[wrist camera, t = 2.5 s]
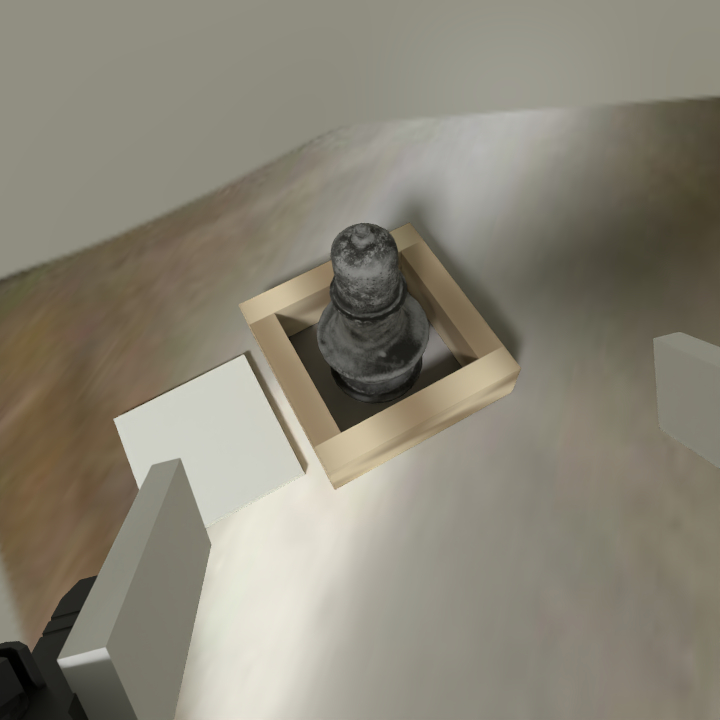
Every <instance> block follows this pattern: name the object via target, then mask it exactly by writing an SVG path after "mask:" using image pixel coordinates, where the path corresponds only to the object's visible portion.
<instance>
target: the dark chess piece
mask: <svg viewBox="0 0 720 720" xmlns="http://www.w3.org/2000/svg"><path fill="white" fill-rule="evenodd" d="M331 261H332V266H333V272H334V276H333V279H332V281H331V283H330V290H329V294H330V299H331V301H330V303H329V304H328V305H327V307H326V308H325V309H324V310H323V312H322V315H321V317H320V319H319V322H318V328H317V340H318V345H319V349H320V351H321V353H322V355H323V357H324V359H325V361H326V362H327V363H328V364H329V365H330V367H331V372H332V376H333V378H334V380H335V381H336V383H337V385H338V386H339V387H340V388H341V389H342V390H343V391H344V392H345V393H346V394H347V395H349V396H351V397H352V398H354V399H356V400H360V401H363V402H367V403H382V402H387V401H392V400H394V399H396V398H398V397H400V396H402V395H403V394H405V393H406V392H407V391H408V390H409V389H410V388H412V386H413V385H414V383H415V382H416V380H417V379H418V377H419V374H420V371H421V367H422V354H423V353H424V352H425V349H426V345H427V342H428V339H429V324H428V320H427V317H426V314H425V312H424V310H423V308H422V307H421V305H420V304H419V302H418V301H417V300H415V299H414V298H413V297H412V296H411V295H410V294H409V293H407V283H406V280H405V277H404V276H403V274H402V273H401V271H400V270H399V268H398V248H397V245H396V242H395V239H394V238H393V236H392V235H391V234H390V233H389V232H388V231H387V230H385V229H384V228H382V227H379V226H377V225H374V224H369V223H360V224H355V225H352V226H350V227H347V228H346V229H345V230H343V231H342V232H340V233H339V234H338V236H337V237H336V238H335V239H334V242H333V244H332V248H331Z"/></svg>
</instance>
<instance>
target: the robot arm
mask: <svg viewBox="0 0 720 720" xmlns="http://www.w3.org/2000/svg"><path fill="white" fill-rule="evenodd" d="M653 345H654V360H655V375H656V389H657V404H658V419H659V429H661V430H662V431H664V432H665V433H667V434H668V435H670V436H671V437H673V438H674V439H676V440H677V441H679V442H680V443H682V444H683V445H685V446H686V447H688V448H689V449H691V450H692V451H694V452H695V453H697V454H698V455H700V456H701V457H703V458H704V459H706V460H707V461H709V462H710V463H712V464H713V465H715V466H716V467H718V468H719V469H720V347H718V346H716V345H713V344H710V343H708V342H705V341H703V340H700V339H697V338H695V337H692V336H690V335H687V334H684V333H682V332H676V333H672V334H668V335H664V336H661V337H657V338H653ZM210 548H211V542H210V540H209V537H208V534H207V531H206V528H205V526H204V523H203V520H202V517H201V514H200V511H199V509H198V506H197V503H196V500H195V497H194V494H193V492H192V489H191V486H190V483H189V480H188V477H187V475H186V472H185V469H184V466H183V463H182V460H181V458H177V459H173V460H169V461H165V462H161V463H157V464H153V465H151V468H150V470H149V472H148V474H147V476H146V478H145V480H144V482H143V484H142V486H141V488H140V490H139V492H138V494H137V496H136V498H135V500H134V502H133V505H132V507H131V509H130V511H129V513H128V515H127V517H126V519H125V521H124V523H123V525H122V527H121V529H120V531H119V533H118V535H117V537H116V539H115V542H114V544H113V546H112V548H111V550H110V552H109V554H108V556H107V558H106V560H105V562H104V564H103V566H102V568H101V570H100V572H99V574H98V575H97V576H93V577H89V578H85V579H82V580H79V581H78V582H77V583H76V584H75V585H74V586H73V588H72V589H71V590H70V591H69V592H68V593H67V594H66V595H65V596H64V597H63V598H62V599H61V600H60V602H59V604H58V606H57V608H56V610H55V611H54V613H53V615H52V617H51V621H49V622H48V624H47V626H46V628H45V630H44V631H43V633H42V634H43V637H41V638H40V639H39V641H38V642H37V644H36V646H35V648H34V650H33V652H32V653H31V652H30V650H29V648H28V646H27V645H25V644H23V643H21V642H19V641H15V642H4V643H1V644H0V720H174V715H175V711H176V706H177V701H178V697H179V692H180V687H181V683H182V678H183V673H184V669H185V664H186V660H187V655H188V650H189V646H190V641H191V636H192V632H193V627H194V622H195V618H196V613H197V608H198V604H199V599H200V595H201V590H202V585H203V581H204V576H205V571H206V567H207V562H208V557H209V553H210Z"/></svg>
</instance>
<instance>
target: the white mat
mask: <svg viewBox="0 0 720 720" xmlns="http://www.w3.org/2000/svg"><path fill="white" fill-rule="evenodd" d="M114 421H115V424H116V427H117V430H118V432H119V435H120V438H121V441H122V443H123V446H124V449H125V452H126V454H127V457H128V460H129V463H130V465H131V468H132V471H133V474H134V477H135V479H136V482H137V485H138V488H139V490H140V488H141V486H142V484H143V482H144V480H145V478H146V476H147V474H148V472H149V470H150V468H151V465H153V464H157V463H161V462H165V461H169V460H173V459H177V458H181V460H182V463H183V466H184V469H185V472H186V475H187V477H188V480H189V483H190V486H191V489H192V492H193V494H194V497H195V500H196V503H197V506H198V509H199V511H200V514H201V517H202V520H203V523H204V526H205V528H207V527H209V526H211V525H213V524H215V523H217V522H218V521H220V520H222V519H224V518H226V517H228V516H230V515H231V514H233V513H235V512H237V511H239V510H241V509H242V508H244V507H246V506H248V505H250V504H252V503H253V502H255V501H257V500H259V499H261V498H263V497H265V496H266V495H268V494H270V493H272V492H274V491H276V490H277V489H279V488H281V487H283V486H285V485H287V484H289V483H290V482H292V481H294V480H296V479H298V478H300V477H301V476H303V475H305V473H304V471H303V469H302V467H301V465H300V463H299V461H298V459H297V457H296V455H295V453H294V451H293V450H292V448H291V446H290V444H289V442H288V440H287V438H286V436H285V434H284V432H283V430H282V428H281V426H280V424H279V422H278V420H277V418H276V416H275V414H274V412H273V410H272V408H271V406H270V404H269V402H268V400H267V398H266V396H265V394H264V393H263V391H262V389H261V387H260V385H259V383H258V381H257V379H256V377H255V375H254V373H253V371H252V369H251V367H250V365H249V363H248V361H247V359H246V357H245V355H241V356H239V357H237V358H235V359H233V360H231V361H229V362H227V363H225V364H223V365H221V366H219V367H217V368H215V369H213V370H211V371H209V372H207V373H205V374H203V375H201V376H199V377H197V378H195V379H193V380H191V381H189V382H187V383H185V384H183V385H181V386H179V387H177V388H175V389H173V390H171V391H169V392H167V393H165V394H163V395H161V396H159V397H157V398H155V399H153V400H151V401H149V402H147V403H145V404H143V405H141V406H139V407H137V408H135V409H133V410H131V411H129V412H127V413H125V414H123V415H121V416H119V417H117V418H115V419H114Z"/></svg>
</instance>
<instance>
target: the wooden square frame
mask: <svg viewBox="0 0 720 720" xmlns="http://www.w3.org/2000/svg"><path fill="white" fill-rule="evenodd" d="M389 233H390V234H391V235H392V236H393V238H394V239H395V242H396V245H397V248H398V268H399V270H400V271H401V273H402V274H403V276H404V277H405V280H406V283H407V290H408V291H409V293H410V294H411V296H412V297H413V298H414V299H415V300H417V301H418V302H419V304H420V305H421V307H422V308H423V310H424V312H425V314H426V317H427V318H428V320H429V321H430V323H431V324H432V325H433V327H434V328H435V330H436V331H437V332H438V334H439V335H440V337H441V338H442V339H443V341H444V342H445V344H446V345H447V347H448V348H449V349H450V351H451V352H452V354H453V355H454V356H455V358H456V359H457V361H458V362H459V364H460V365H461V366H462V368H461V369H460V370H458V371H456V372H454V373H452V374H450V375H448V376H446V377H445V378H443V379H441V380H439V381H437V382H435V383H433V384H431V385H430V386H428V387H426V388H424V389H422V390H420V391H418V392H417V393H415V394H413V395H411V396H409V397H407V398H405V399H403V400H402V401H400V402H398V403H396V404H394V405H392V406H390V407H389V408H387V409H385V410H383V411H381V412H379V413H377V414H375V415H374V416H372V417H370V418H368V419H366V420H364V421H362V422H361V423H359V424H357V425H355V426H353V427H351V428H349V429H347V430H346V431H344V432H342V433H341V432H340V430H339V428H338V426H337V425H336V423H335V421H334V419H333V417H332V416H331V414H330V412H329V410H328V408H327V407H326V405H325V403H324V401H323V399H322V398H321V396H320V394H319V392H318V391H317V389H316V387H315V385H314V383H313V382H312V380H311V378H310V376H309V374H308V373H307V371H306V369H305V367H304V366H303V364H302V362H301V360H300V358H299V357H298V355H297V353H296V351H295V349H294V348H293V346H292V344H291V342H290V340H289V339H288V337H290V336H292V335H294V334H296V333H298V332H300V331H302V330H304V329H306V328H308V327H310V326H312V325H314V324H316V323H318V322H319V319H320V317H321V315H322V312H323V310H324V309H325V308H326V307H327V305H328V304H329V303H330V301H331V299H330V294H329V290H330V283H331V281H332V279H333V276H334V272H333V266H332V261H328V262H326V263H324V264H322V265H320V266H318V267H316V268H314V269H312V270H310V271H308V272H306V273H304V274H302V275H299V276H297V277H295V278H293V279H291V280H289V281H287V282H285V283H283V284H281V285H279V286H277V287H275V288H272V289H270V290H268V291H266V292H264V293H262V294H260V295H258V296H256V297H254V298H252V299H250V300H248V301H245V302H243V303H241V304H239V307H240V309H241V311H242V313H243V315H244V317H245V319H246V321H247V323H248V325H249V328H250V330H251V332H252V334H253V335H254V337H255V339H256V341H257V343H258V345H259V347H260V349H261V351H262V353H263V354H264V356H265V358H266V360H267V362H268V364H269V366H270V368H271V370H272V372H273V373H274V375H275V377H276V379H277V381H278V383H279V385H280V387H281V389H282V390H283V392H284V394H285V396H286V398H287V400H288V402H289V404H290V406H291V408H292V409H293V411H294V413H295V415H296V417H297V419H298V421H299V423H300V425H301V427H302V428H303V430H304V432H305V434H306V436H307V438H308V440H309V442H310V444H311V445H312V447H313V449H314V451H315V453H316V455H317V457H318V459H319V461H320V463H321V464H322V466H323V468H324V470H325V472H326V474H327V476H328V478H329V480H330V482H331V483H332V485H333V487H334V489H337V488H339V487H341V486H343V485H344V484H346V483H348V482H350V481H352V480H353V479H355V478H357V477H359V476H361V475H363V474H364V473H366V472H368V471H370V470H372V469H373V468H375V467H377V466H379V465H381V464H382V463H384V462H386V461H388V460H390V459H392V458H393V457H395V456H397V455H399V454H401V453H402V452H404V451H406V450H408V449H410V448H411V447H413V446H415V445H417V444H419V443H421V442H422V441H424V440H426V439H428V438H430V437H431V436H433V435H435V434H437V433H439V432H440V431H442V430H444V429H446V428H448V427H450V426H451V425H453V424H455V423H457V422H459V421H460V420H462V419H464V418H466V417H468V416H469V415H471V414H473V413H475V412H477V411H479V410H480V409H482V408H484V407H486V406H488V405H489V404H491V403H493V402H495V401H497V400H498V399H500V398H502V397H504V396H506V395H508V394H509V393H511V392H512V390H513V388H514V385H515V383H516V380H517V378H518V375H519V372H520V370H521V368H520V366H519V365H518V364H517V362H516V361H515V360H514V358H513V357H512V356H511V354H510V353H509V352H508V350H507V349H506V348H505V347H504V345H503V344H502V343H501V341H500V340H499V339H498V337H497V336H496V335H495V333H494V332H493V331H492V330H491V328H490V327H489V326H488V324H487V323H486V322H485V320H484V319H483V318H482V316H481V315H480V314H479V312H478V311H477V310H476V309H475V307H474V306H473V305H472V303H471V302H470V301H469V299H468V298H467V297H466V295H465V294H464V293H463V291H462V290H461V289H460V288H459V286H458V285H457V284H456V282H455V281H454V280H453V278H452V277H451V276H450V274H449V273H448V272H447V270H446V269H445V268H444V267H443V265H442V264H441V263H440V261H439V260H438V259H437V257H436V256H435V255H434V253H433V252H432V251H431V249H430V248H429V247H428V246H427V244H426V243H425V242H424V240H423V239H422V238H421V236H420V235H419V234H418V232H417V231H416V230H415V228H414V227H413V226H412V225H411V223H410V222H409V223H407V224H405V225H403V226H401V227H399V228H397V229H395V230H393V231H391V232H389Z"/></svg>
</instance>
